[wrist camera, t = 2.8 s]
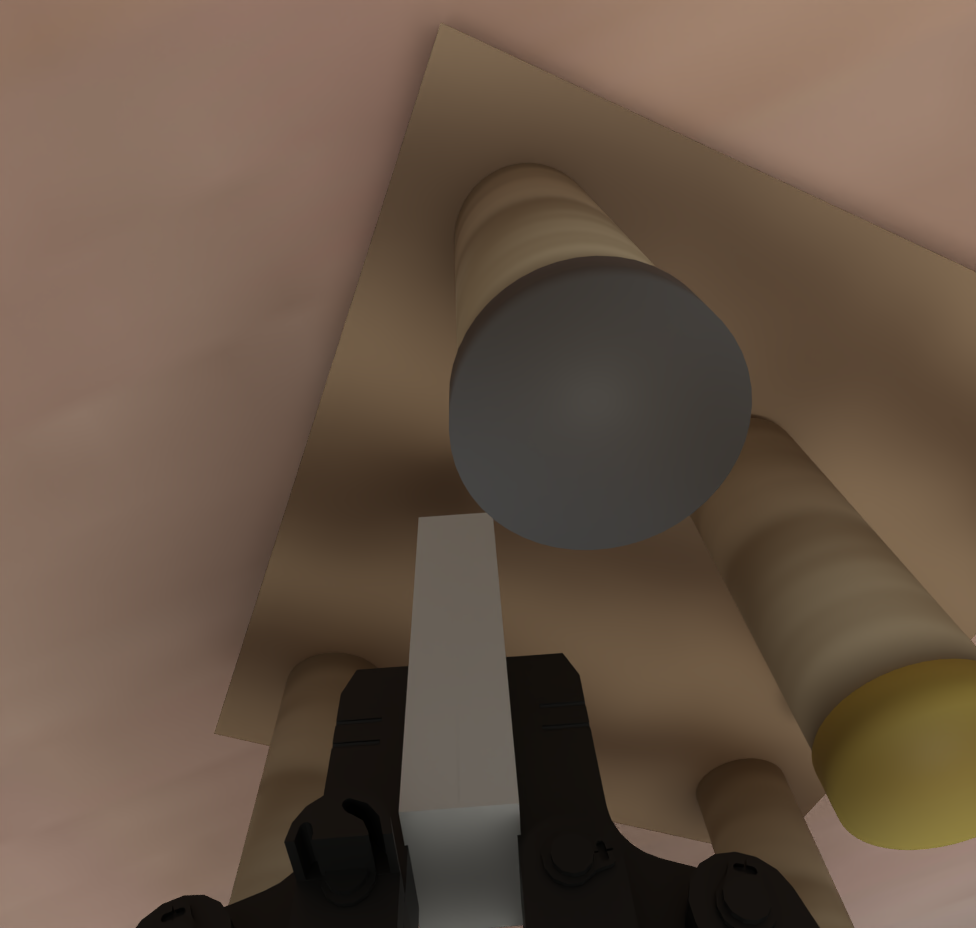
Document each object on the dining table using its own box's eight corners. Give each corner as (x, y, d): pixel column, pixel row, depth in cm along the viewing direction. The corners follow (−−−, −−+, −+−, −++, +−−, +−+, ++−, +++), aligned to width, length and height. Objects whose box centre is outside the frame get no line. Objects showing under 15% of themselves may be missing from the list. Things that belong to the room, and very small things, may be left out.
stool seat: (743, 795, 29) (894, 1180, 19) (234, 672, 24) (89, 1092, 15) (1130, 346, 20) (1787, 633, 10) (441, 26, 16) (427, -16, 6)
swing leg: (891, 700, 22) (1120, 1036, 15) (791, 736, 23) (960, 1077, 15) (781, 391, 17) (1049, 669, 9) (654, 450, 18) (809, 756, 10)
